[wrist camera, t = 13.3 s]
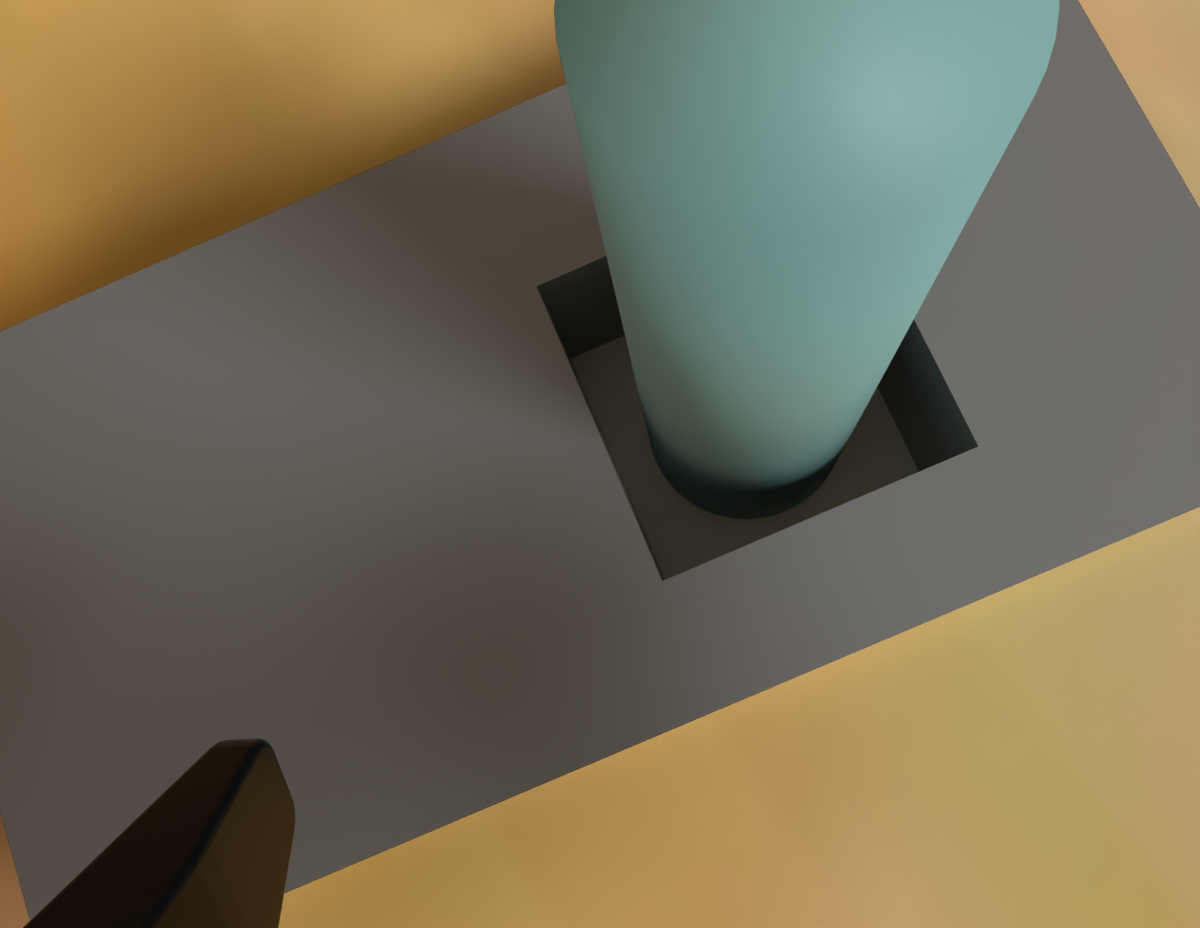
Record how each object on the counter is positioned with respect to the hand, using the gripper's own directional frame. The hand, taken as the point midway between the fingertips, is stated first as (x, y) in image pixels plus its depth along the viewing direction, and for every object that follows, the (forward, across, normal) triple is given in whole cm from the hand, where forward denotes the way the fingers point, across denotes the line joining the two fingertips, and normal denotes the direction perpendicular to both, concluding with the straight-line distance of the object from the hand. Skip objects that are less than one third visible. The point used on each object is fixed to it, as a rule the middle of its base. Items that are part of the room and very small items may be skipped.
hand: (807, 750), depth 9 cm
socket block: (+11, +3, +5) cm, 13 cm away
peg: (+11, 0, +4) cm, 12 cm away
